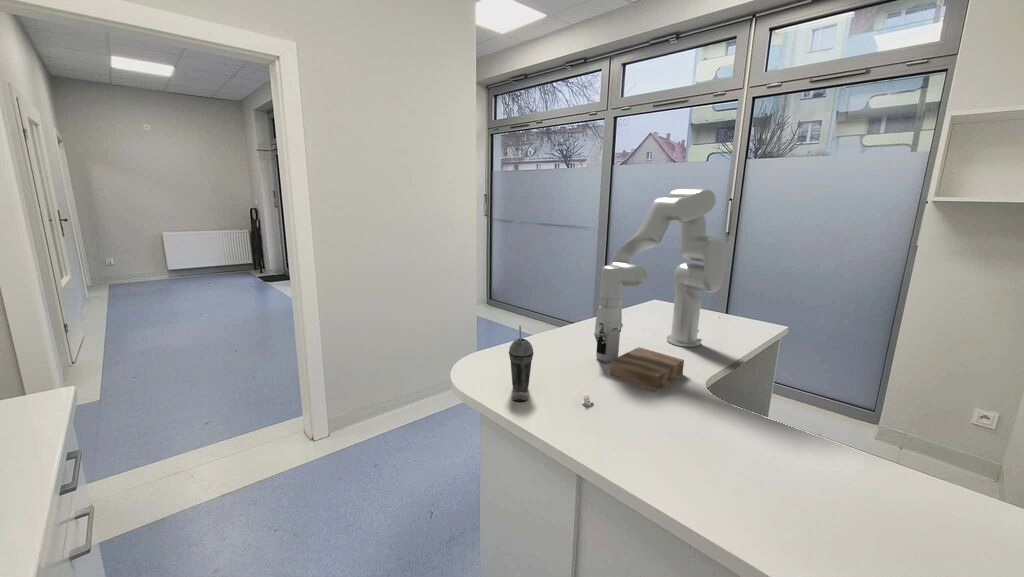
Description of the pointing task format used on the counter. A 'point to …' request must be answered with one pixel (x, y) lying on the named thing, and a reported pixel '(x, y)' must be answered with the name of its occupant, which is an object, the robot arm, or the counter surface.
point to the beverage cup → (520, 363)
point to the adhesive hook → (587, 400)
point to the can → (610, 346)
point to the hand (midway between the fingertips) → (607, 350)
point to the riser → (647, 368)
